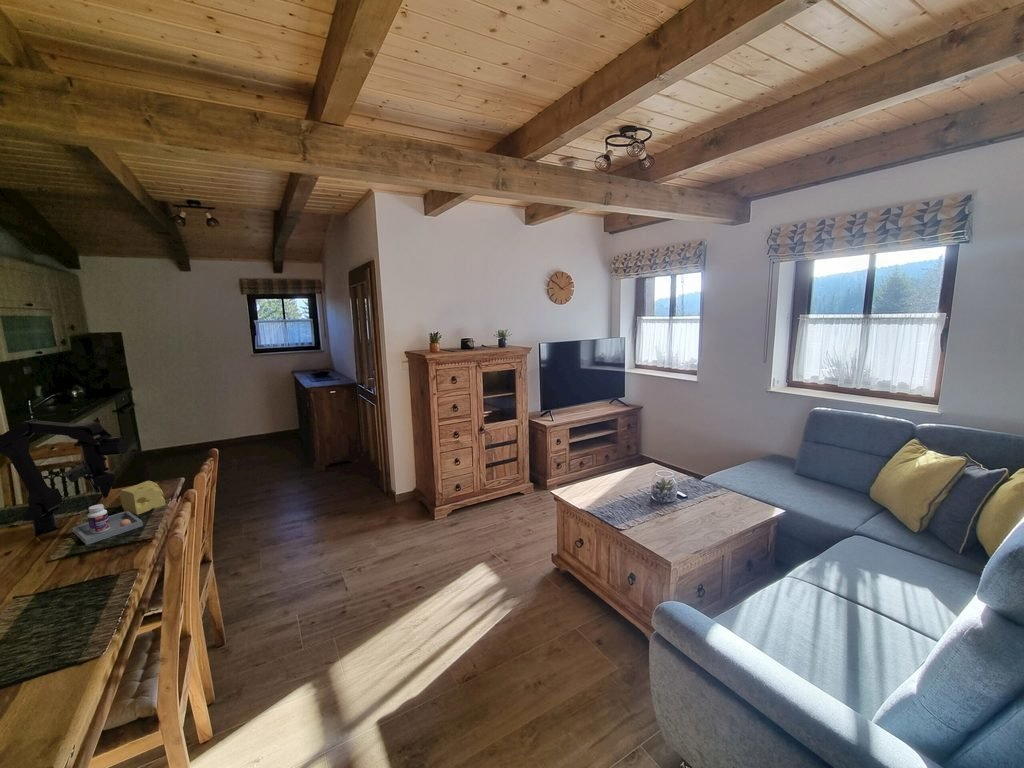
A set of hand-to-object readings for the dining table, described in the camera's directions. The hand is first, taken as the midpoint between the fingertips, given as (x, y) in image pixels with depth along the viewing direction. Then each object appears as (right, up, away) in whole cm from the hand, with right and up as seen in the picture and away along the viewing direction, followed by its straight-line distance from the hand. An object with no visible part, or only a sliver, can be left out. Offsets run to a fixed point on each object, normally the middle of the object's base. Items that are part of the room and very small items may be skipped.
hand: (101, 495), depth 165 cm
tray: (+5, -13, -2) cm, 14 cm away
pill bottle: (+2, -13, -3) cm, 13 cm away
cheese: (+3, -10, +16) cm, 19 cm away
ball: (+10, -12, -1) cm, 16 cm away
